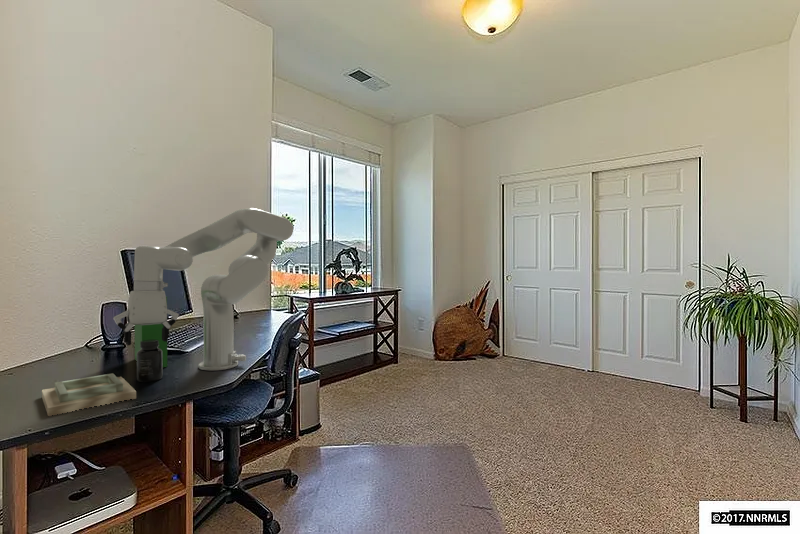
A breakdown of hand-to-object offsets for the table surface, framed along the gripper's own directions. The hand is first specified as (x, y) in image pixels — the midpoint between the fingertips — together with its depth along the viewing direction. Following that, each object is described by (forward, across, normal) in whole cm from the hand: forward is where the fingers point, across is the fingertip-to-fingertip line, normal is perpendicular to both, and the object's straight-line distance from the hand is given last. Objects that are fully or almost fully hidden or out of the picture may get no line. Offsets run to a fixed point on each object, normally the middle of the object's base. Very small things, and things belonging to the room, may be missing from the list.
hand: (146, 342), depth 127 cm
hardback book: (+12, -6, -21) cm, 25 cm away
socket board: (+12, +15, +8) cm, 21 cm away
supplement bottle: (+12, -1, 0) cm, 12 cm away
